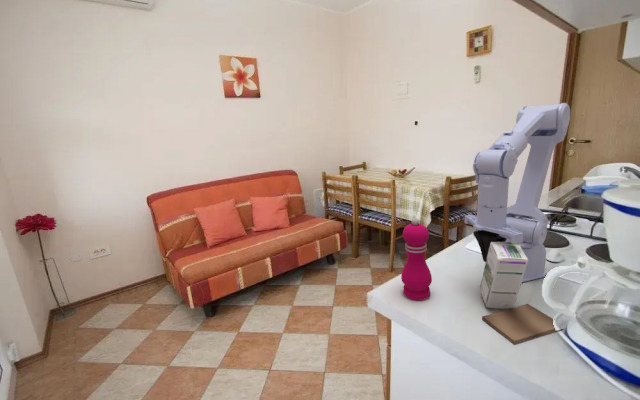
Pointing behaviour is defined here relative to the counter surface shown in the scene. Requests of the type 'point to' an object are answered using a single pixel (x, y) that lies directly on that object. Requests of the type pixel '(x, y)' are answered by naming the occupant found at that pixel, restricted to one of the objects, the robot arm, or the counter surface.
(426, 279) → the pepper mill
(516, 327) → the walnut board
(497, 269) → the syrup box
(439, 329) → the counter surface
